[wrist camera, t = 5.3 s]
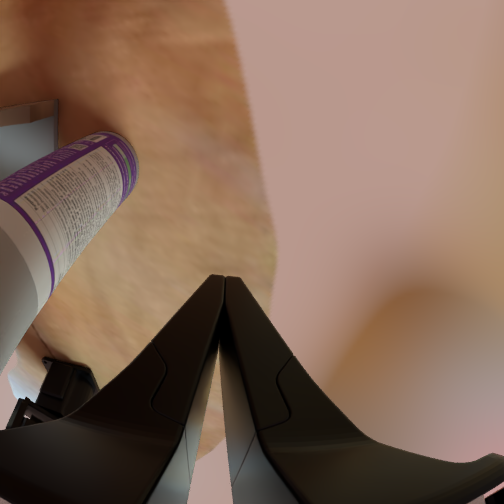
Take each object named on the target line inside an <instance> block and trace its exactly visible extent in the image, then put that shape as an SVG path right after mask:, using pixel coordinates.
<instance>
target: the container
mask: <svg viewBox="0 0 504 504" xmlns="http://www.w3.org/2000/svg"><path fill="white" fill-rule="evenodd" d="M138 175H139V163H138V159H137V156H136V153H135V151H134V149H133V148H132V146H131V145H130V144H129V142H128V141H127V140H126V139H124V138H123V137H122V136H120V135H118V134H116V133H113V132H107V131H102V132H97V133H94V134H91V135H88V136H86V137H84V138H81V139H79V140H77V141H75V142H73V143H70V144H68V145H66V146H64V147H62V148H60V149H58V150H56V151H54V152H52V153H50V154H48V155H46V156H44V157H42V158H40V159H38V160H36V161H34V162H32V163H31V164H29V165H27V166H25V167H23V168H22V169H20V170H18V171H16V172H15V173H13V174H11V175H10V176H8V177H6V178H5V179H3V180H1V181H0V374H1V372H2V371H3V369H4V367H5V366H6V364H7V362H8V360H9V359H10V357H11V355H12V353H13V352H14V350H15V349H16V347H17V345H18V344H19V342H20V340H21V339H22V337H23V336H24V334H25V333H26V331H27V329H28V328H29V326H30V325H31V323H32V322H33V320H34V319H35V317H36V316H37V314H38V313H39V311H40V310H41V309H42V307H43V306H44V304H45V303H46V302H47V300H48V299H49V297H50V296H51V294H52V293H53V291H54V290H55V288H56V287H57V285H58V284H59V283H60V281H61V280H62V278H63V277H64V275H65V274H66V273H67V271H68V270H69V269H70V267H71V266H72V264H73V263H74V262H75V260H76V259H77V258H78V256H79V255H80V254H81V252H82V251H83V250H84V248H85V247H86V246H87V245H88V243H89V242H90V241H91V240H92V238H93V237H94V236H95V234H96V233H97V232H98V231H99V230H100V228H101V227H102V226H103V225H104V223H105V222H106V221H107V220H108V219H109V217H110V216H111V215H112V214H113V213H114V211H115V210H116V209H117V208H118V207H119V206H120V205H121V203H122V202H123V201H124V200H125V199H126V198H127V197H128V195H129V194H130V193H131V192H132V190H133V189H134V187H135V185H136V183H137V180H138Z"/></svg>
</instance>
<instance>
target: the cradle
mask: <svg viewBox="0 0 504 504" xmlns="http://www.w3.org/2000/svg"><path fill="white" fill-rule="evenodd" d="M56 150H58V99H54V100H46V101H39V102H32V103H25V104H19V105H14V106H8V107H3V108H0V181H1V180H3V179H5V178H6V177H8V176H10V175H11V174H13V173H15V172H16V171H18V170H20V169H22V168H23V167H25V166H27V165H29V164H31V163H32V162H34V161H36V160H38V159H40V158H42V157H44V156H46V155H48V154H50V153H52V152H54V151H56Z"/></svg>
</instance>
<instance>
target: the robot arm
mask: <svg viewBox="0 0 504 504" xmlns="http://www.w3.org/2000/svg"><path fill="white" fill-rule="evenodd" d="M218 348H219V361H220V375H221V388H222V400H223V411H224V422H225V433H226V442H227V453H228V462H229V471H230V480H231V487H232V496H233V504H504V487H503V488H501V489H499V490H497V491H496V492H494V493H493V494H491V495H489V496H487V497H486V498H484V495H483V494H485V493H487V492H488V491H490V490H491V489H493V488H495V487H496V486H498V485H499V484H501V483H502V482H504V456H502V455H498V454H495V453H491V454H488V455H486V456H484V457H482V458H480V459H478V460H476V461H472V462H466V463H454V462H448V461H443V460H438V459H434V458H430V457H426V456H423V455H419V454H415V453H411V452H408V451H405V450H401V449H398V448H394V447H391V446H388V445H385V444H382V443H379V442H377V441H375V440H373V439H371V438H370V437H368V436H367V435H365V434H364V433H363V432H362V431H360V430H359V429H358V428H357V427H356V426H355V425H354V424H353V423H352V422H351V421H350V420H349V419H348V418H347V416H346V415H345V414H343V412H342V411H340V409H339V408H338V407H337V406H336V405H335V404H334V403H333V402H332V401H331V400H330V399H329V398H328V397H327V396H326V394H325V393H324V392H323V391H322V390H321V389H320V388H319V386H318V385H317V384H316V383H315V382H314V381H313V380H312V378H311V377H310V376H309V374H308V373H307V372H306V370H305V369H304V368H303V367H302V365H301V364H300V362H299V361H298V360H297V358H296V357H295V356H293V353H292V351H291V350H290V349H289V347H288V346H287V344H286V343H285V341H284V340H283V339H282V337H281V336H280V334H279V333H278V332H277V330H276V329H275V327H274V326H273V324H272V323H271V321H270V320H269V318H268V317H267V316H266V314H265V313H264V311H263V310H262V308H261V307H260V305H259V304H258V303H257V301H256V300H255V298H254V297H253V295H252V294H251V292H250V291H249V289H248V288H247V287H246V285H245V284H244V282H243V281H242V279H241V278H240V277H233V276H227V277H226V278H225V276H223V275H214V274H211V275H210V276H209V277H208V278H207V279H206V280H205V281H204V282H203V283H202V285H201V286H200V287H199V288H198V289H197V290H196V291H195V292H194V293H193V295H192V296H191V297H190V298H189V299H188V300H187V301H186V302H185V303H184V305H183V306H182V307H181V308H180V309H179V310H178V311H177V312H176V313H175V315H174V316H173V317H172V318H171V319H170V320H169V321H168V322H167V324H166V325H165V326H164V327H163V328H162V329H161V330H160V331H159V332H158V334H157V335H156V336H155V337H154V338H153V339H152V340H151V342H150V343H149V344H148V345H147V346H146V347H145V348H144V349H143V350H142V352H141V353H140V354H139V355H138V356H137V357H136V358H135V359H134V360H133V361H132V362H131V363H130V364H129V365H128V366H127V367H126V368H125V369H124V370H123V371H121V372H120V373H119V374H118V375H117V376H116V377H115V378H114V379H112V380H111V381H110V382H109V383H108V384H107V385H105V386H104V387H103V388H102V389H101V390H99V387H98V385H97V383H96V381H95V378H94V376H93V373H92V371H91V370H89V369H87V368H83V367H79V366H76V365H72V364H68V363H64V362H61V361H57V360H54V359H50V358H47V357H43V359H42V362H43V364H44V366H45V368H46V370H47V374H46V377H45V379H44V381H43V383H42V386H41V388H40V393H39V395H38V397H37V400H36V402H35V403H34V402H32V401H31V400H30V399H29V398H27V397H26V398H25V400H24V399H21V398H19V399H18V402H17V404H16V406H15V409H14V411H13V413H12V415H11V417H10V419H9V422H8V424H7V426H6V429H5V430H0V504H187V500H188V495H189V490H190V484H191V479H192V474H193V470H194V465H195V460H196V455H197V450H198V445H199V440H200V435H201V431H202V426H203V421H204V416H205V411H206V406H207V402H208V397H209V392H210V388H211V383H212V378H213V373H214V369H215V364H216V359H217V354H218ZM24 415H26V416H28V417H29V418H30V419H28V418H25V417H24Z"/></svg>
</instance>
